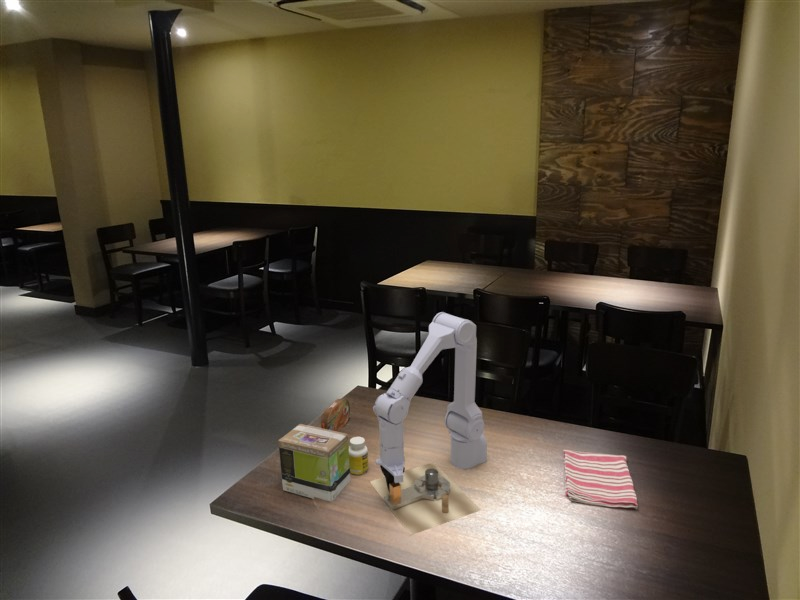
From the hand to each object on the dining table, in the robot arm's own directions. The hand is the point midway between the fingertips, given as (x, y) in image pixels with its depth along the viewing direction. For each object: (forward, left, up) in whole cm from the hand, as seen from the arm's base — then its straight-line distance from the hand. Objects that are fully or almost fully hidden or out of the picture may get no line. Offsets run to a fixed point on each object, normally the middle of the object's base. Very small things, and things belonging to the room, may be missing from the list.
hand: (393, 491), depth 137 cm
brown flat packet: (0, -41, -3) cm, 41 cm away
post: (-10, +1, -3) cm, 11 cm away
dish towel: (-51, +16, -4) cm, 54 cm away
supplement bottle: (+3, -16, -3) cm, 16 cm away
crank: (-6, +2, -2) cm, 6 cm away
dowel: (-9, +10, -3) cm, 14 cm away
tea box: (+15, -15, -3) cm, 21 cm away
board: (-7, +2, -3) cm, 8 cm away
